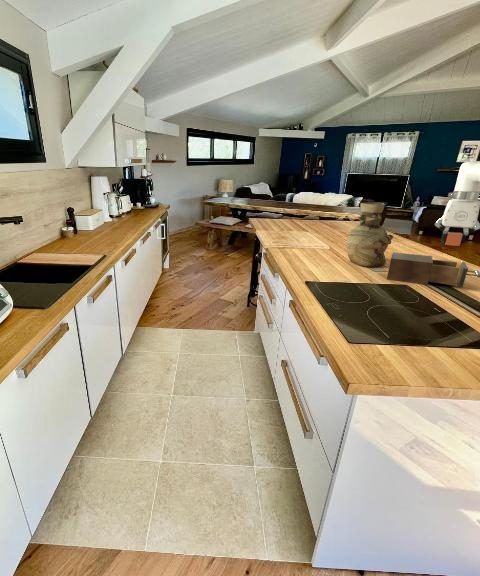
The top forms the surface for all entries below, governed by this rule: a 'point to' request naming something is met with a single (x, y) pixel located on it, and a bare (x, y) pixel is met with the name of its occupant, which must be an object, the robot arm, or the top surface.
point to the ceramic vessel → (368, 238)
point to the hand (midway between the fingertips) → (452, 243)
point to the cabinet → (410, 268)
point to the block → (453, 238)
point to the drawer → (450, 273)
